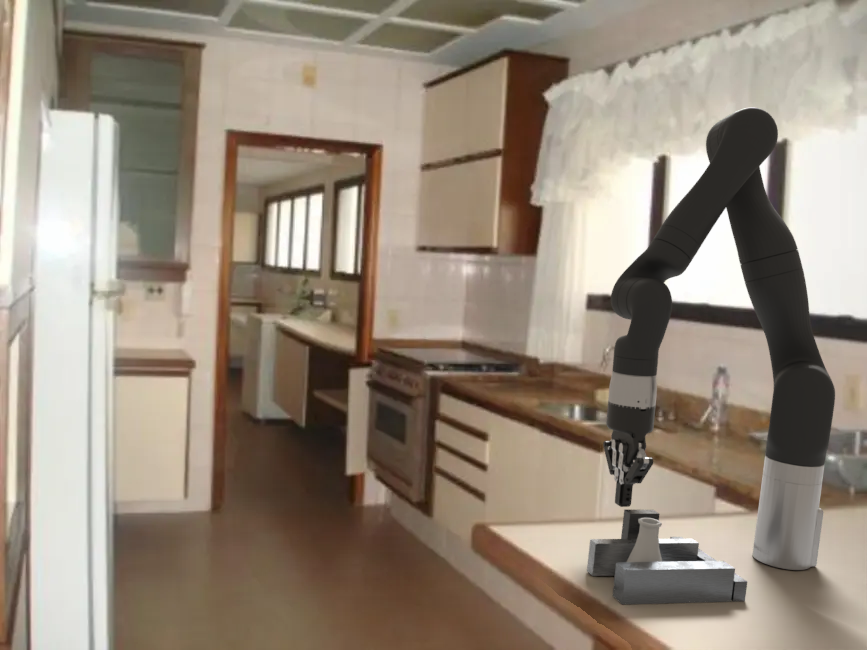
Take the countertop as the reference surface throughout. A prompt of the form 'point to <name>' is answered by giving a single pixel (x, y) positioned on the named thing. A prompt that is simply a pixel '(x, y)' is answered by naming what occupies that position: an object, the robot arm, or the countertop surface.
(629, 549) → the vise jaw sliding
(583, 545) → the countertop surface
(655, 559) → the flask
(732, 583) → the vise fixed
